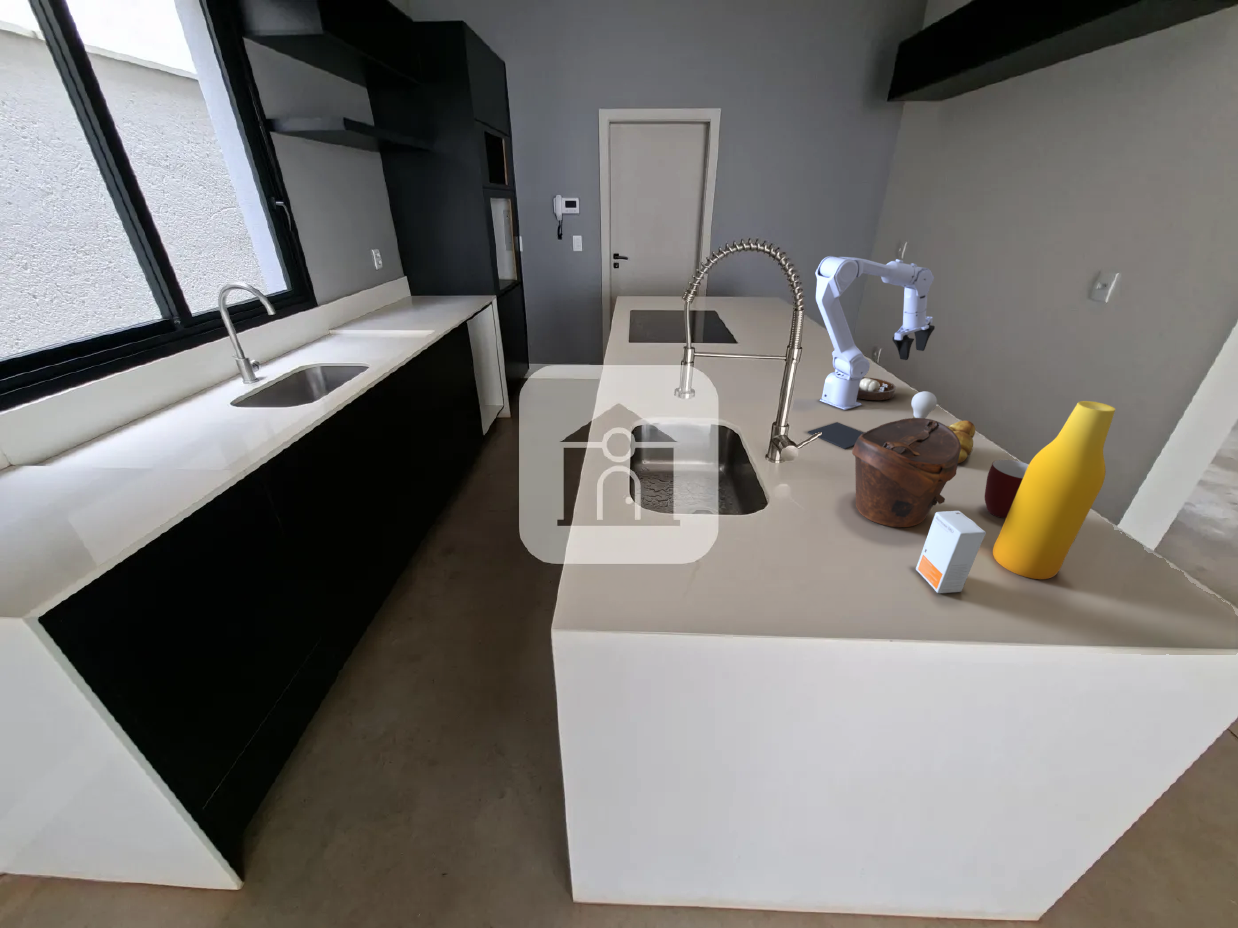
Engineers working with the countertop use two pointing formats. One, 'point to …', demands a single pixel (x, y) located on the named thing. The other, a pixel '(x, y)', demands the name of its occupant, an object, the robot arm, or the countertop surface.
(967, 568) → the cosmetic box
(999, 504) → the mug
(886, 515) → the case
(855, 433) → the mat
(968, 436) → the bread roll
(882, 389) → the bowl
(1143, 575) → the countertop surface
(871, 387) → the white grooved oval
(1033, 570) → the beer bottle
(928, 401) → the light bulb
